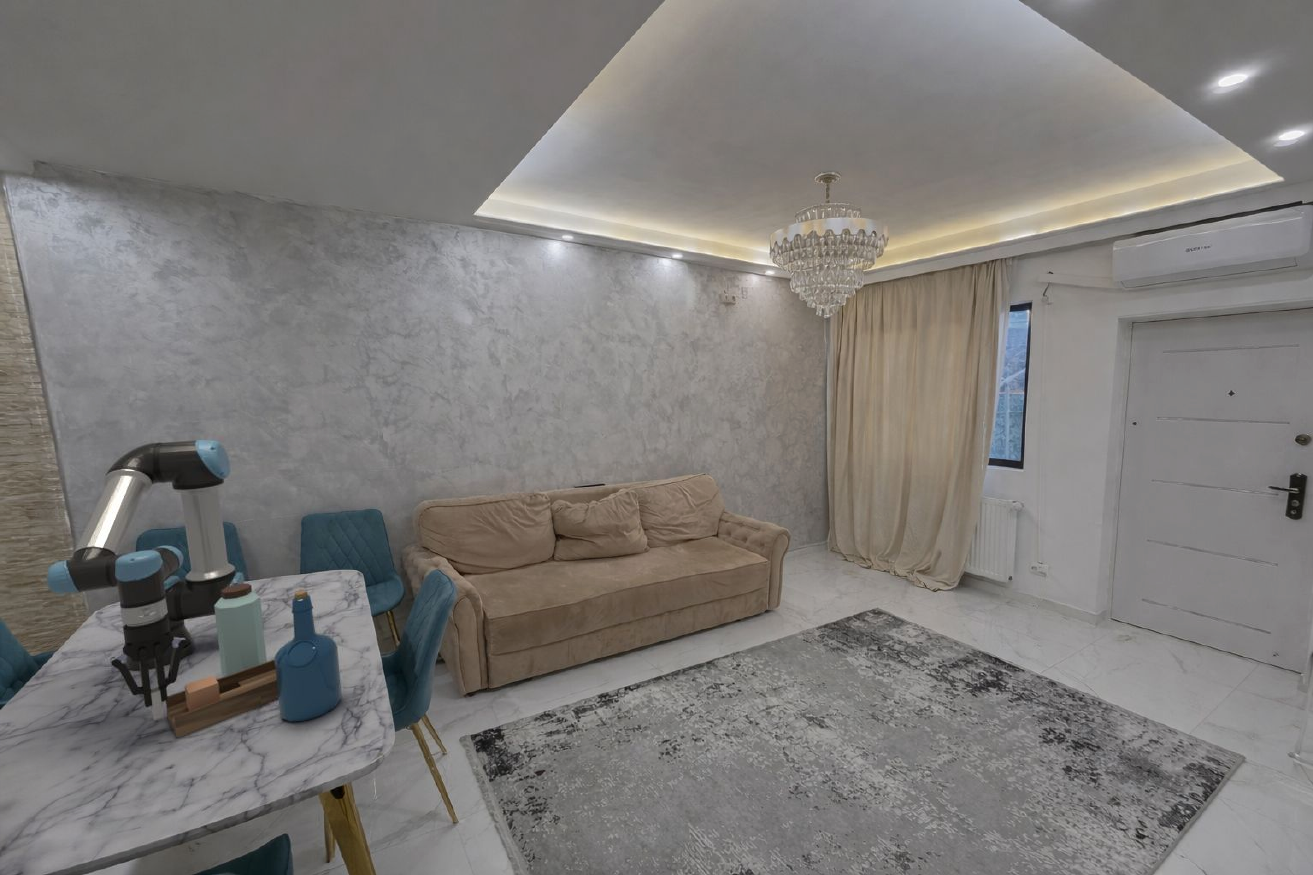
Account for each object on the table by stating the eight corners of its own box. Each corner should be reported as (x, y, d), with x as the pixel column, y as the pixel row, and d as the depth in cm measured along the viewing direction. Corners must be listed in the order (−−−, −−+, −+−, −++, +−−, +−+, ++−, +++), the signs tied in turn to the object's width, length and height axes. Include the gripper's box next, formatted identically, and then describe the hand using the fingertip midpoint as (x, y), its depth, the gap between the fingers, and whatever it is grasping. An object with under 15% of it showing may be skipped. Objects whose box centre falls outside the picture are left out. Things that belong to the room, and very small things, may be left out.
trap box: (167, 716, 130) (164, 693, 129) (307, 664, 152) (305, 645, 152) (177, 738, 121) (174, 713, 121) (323, 680, 144) (321, 659, 144)
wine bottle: (286, 699, 136) (275, 587, 133) (345, 686, 141) (336, 578, 138) (272, 731, 123) (259, 608, 120) (337, 716, 128) (327, 597, 125)
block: (186, 706, 129) (184, 684, 129) (215, 695, 134) (213, 675, 133) (191, 714, 126) (188, 693, 125) (220, 703, 130) (218, 682, 130)
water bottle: (242, 685, 143) (233, 596, 140) (212, 681, 145) (202, 593, 142) (276, 665, 152) (267, 582, 150) (247, 662, 154) (238, 580, 152)
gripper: (106, 635, 114) (120, 737, 116) (186, 614, 123) (197, 708, 126) (103, 625, 118) (116, 723, 121) (180, 605, 128) (191, 697, 131)
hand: (158, 716), depth 123 cm, fingers closed
